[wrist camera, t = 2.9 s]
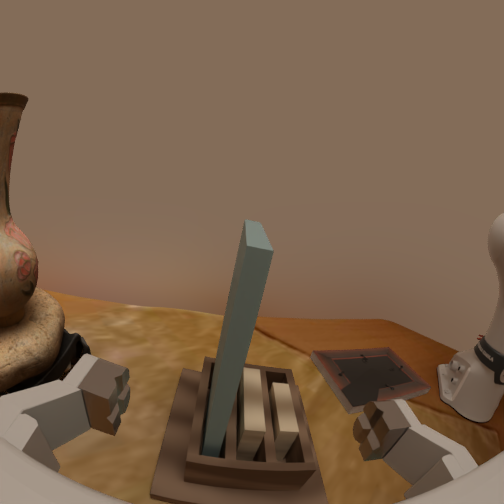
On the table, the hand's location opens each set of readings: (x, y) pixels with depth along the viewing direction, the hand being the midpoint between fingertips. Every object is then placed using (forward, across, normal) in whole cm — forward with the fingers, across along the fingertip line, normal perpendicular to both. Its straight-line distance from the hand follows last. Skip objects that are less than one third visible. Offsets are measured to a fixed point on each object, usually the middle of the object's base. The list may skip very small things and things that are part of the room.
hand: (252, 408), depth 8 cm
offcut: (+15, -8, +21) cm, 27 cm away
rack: (+15, -4, +22) cm, 27 cm away
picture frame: (+32, -30, +23) cm, 49 cm away
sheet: (+15, 0, +21) cm, 26 cm away
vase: (+15, +26, +23) cm, 38 cm away
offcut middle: (+15, -4, +21) cm, 26 cm away
